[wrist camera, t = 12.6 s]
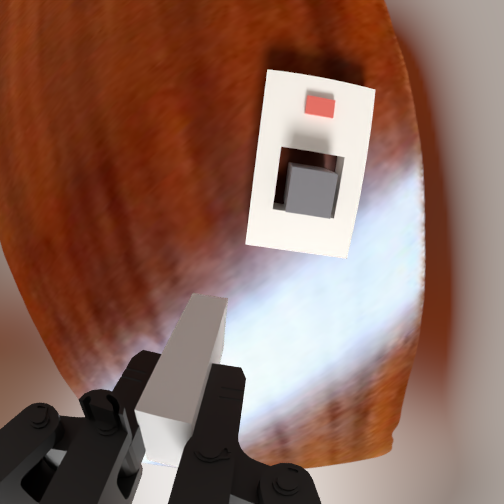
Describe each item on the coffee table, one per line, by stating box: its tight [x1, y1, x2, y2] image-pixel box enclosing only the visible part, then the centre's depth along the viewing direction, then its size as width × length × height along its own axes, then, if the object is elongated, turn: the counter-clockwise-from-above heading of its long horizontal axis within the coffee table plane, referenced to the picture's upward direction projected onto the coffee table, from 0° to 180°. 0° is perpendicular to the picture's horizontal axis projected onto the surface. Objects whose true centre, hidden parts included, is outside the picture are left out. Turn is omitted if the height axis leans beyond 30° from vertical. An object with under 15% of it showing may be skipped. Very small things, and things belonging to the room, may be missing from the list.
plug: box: [283, 162, 338, 219], centre depth 33 cm, size 4×4×8 cm
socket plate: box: [246, 69, 375, 259], centre depth 33 cm, size 20×12×5 cm, turn 173°
